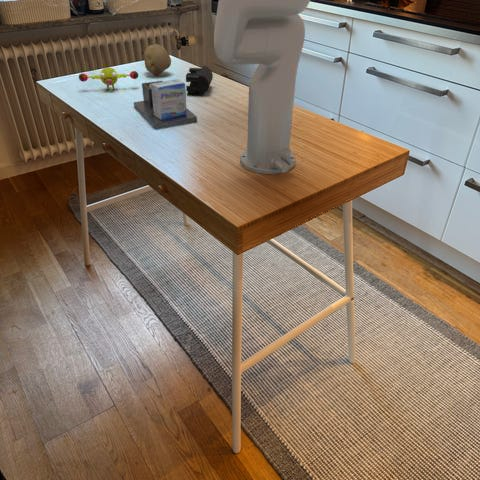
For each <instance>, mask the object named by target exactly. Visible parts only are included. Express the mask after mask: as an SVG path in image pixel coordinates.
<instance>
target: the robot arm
mask: <svg viewBox="0 0 480 480" xmlns="http://www.w3.org/2000/svg"><path fill="white" fill-rule="evenodd" d="M310 2H311V0H218V2H217V10H216V16H215V17H216V18H215V25H214V33H213V45H214V46H213V47H214V51H215V55H216V57H217V59H218V60H219V61H220V62H221V64H222V63H223V65H227V66H228V65H229V66H244V65H245V66H247V65H248V66H249V65H257V67H256V69H255V70H254V71H253V74H252V75H251V78H250V80H249V84H248V85H249V86H248V106H247V107H248V110H247V111H248V113H247V141H246V143H247V144H246V145H247V147H246V149H244V150H243V152H241V154H240V156H239V159H240V160H239V161H240V164H241V165H242V167H243V168H245V169H246V170H248V171H250V172H252V173H253V172H254V173H257V174H263V175H267V174H268V175H277V174H282V173H283V174H285V173H288V172H289V171H290V170H292V169H293V167H295V165H296V157H295V155H294V154H293V153H292V152H291V151H292V149H290V146H291V136H292V125H293V113H294V101H295V91H296V81H297V73H298V69H299V62H300V59H301V55H302V50H303V47H304V42H305V36H306V28H305V24H304V21H303V20H304V19H303V18H302V17H301V16H300V14H301V13H302V12H304V11H305V10H306V9H307V8H308V6H309V4H310Z"/></svg>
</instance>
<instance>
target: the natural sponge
mask: <svg viewBox="0 0 480 480" xmlns="http://www.w3.org/2000/svg"><path fill="white" fill-rule="evenodd" d="M143 60H144V67H145V69H146V71H147V72H149V73H151V74H152V75H154V76H160V75H161V74H163V72H164V71H166V70H168V69H169V68H170V67H171V65H172V59H171V56H170V54H169V52H168V51H167V49H165V47H164V46H163V45H160V44H158V43H154V44H150V45H148V46H147V47H146V48H145V50H144V51H143Z"/></svg>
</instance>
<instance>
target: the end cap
mask: <svg viewBox="0 0 480 480" xmlns="http://www.w3.org/2000/svg"><path fill="white" fill-rule="evenodd" d="M213 78H214V75H213V71H212V69H211V68H210V67H208V66H206V65H202V67H199V68H198V67H189V69H188V72H187V73H186V75H185V82H186V83H189V85H185V90H186V97H187V96H188V97H203V95H205V94H206V93H207V92H208V90H209V89H210V86H211V84H212V81H213Z"/></svg>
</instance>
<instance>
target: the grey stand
mask: <svg viewBox="0 0 480 480" xmlns="http://www.w3.org/2000/svg"><path fill="white" fill-rule="evenodd" d="M159 82H164V81H163V80H156V81H148V82H143V83H141V88H142V96H143V100H141V101H134V102H133V107H134V109H135V110H136V111H137V112H138V113H139V115H141V117H142V118H143V119H144V120H145V121H146V122H147V123H148V124H149V125H150V126H151V127H152V128H153V129H154V130H161V129H165V128H170V127H177V126H182V125H188V124H189V125H190V124H195V123H198V117H197V116H196V115H195V114H194V113H193V112H192V111H191V110H190V109H188V108H187V107H186V109H187V114H186V115H183V116H178V117H174V118H170V119H165V120H161V119H159V118H158V117H156V116H155V115H154V109H153V99H152V90H151V88H149V84H151V83H159Z"/></svg>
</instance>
